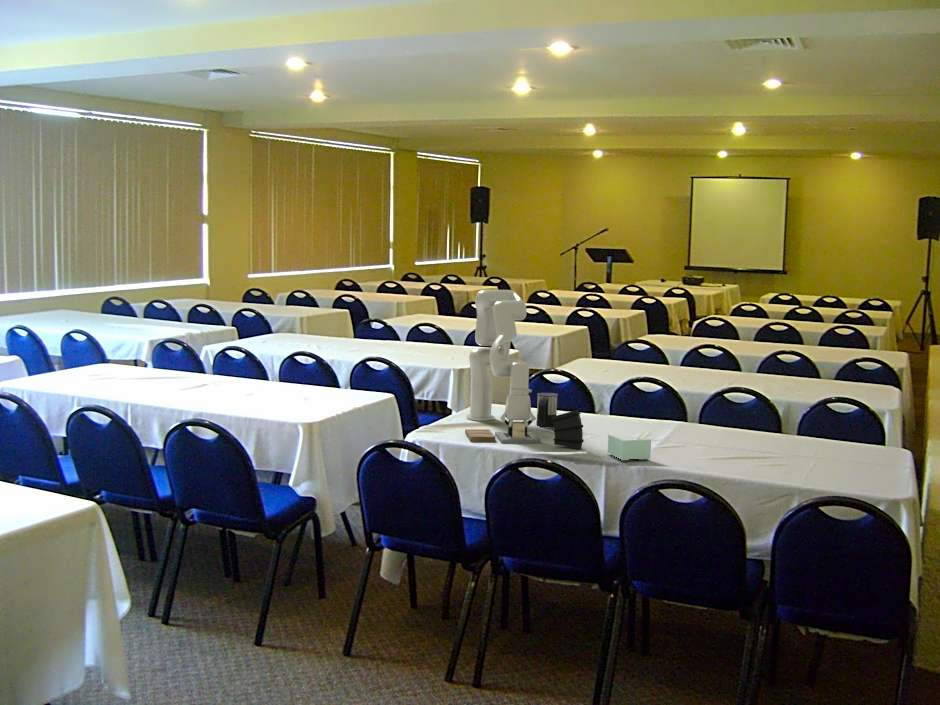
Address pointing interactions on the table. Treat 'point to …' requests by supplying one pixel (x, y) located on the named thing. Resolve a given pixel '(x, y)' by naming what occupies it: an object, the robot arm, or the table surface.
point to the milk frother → (546, 409)
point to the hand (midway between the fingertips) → (517, 435)
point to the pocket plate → (531, 438)
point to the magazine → (568, 430)
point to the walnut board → (480, 435)
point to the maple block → (518, 429)
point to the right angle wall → (629, 448)
